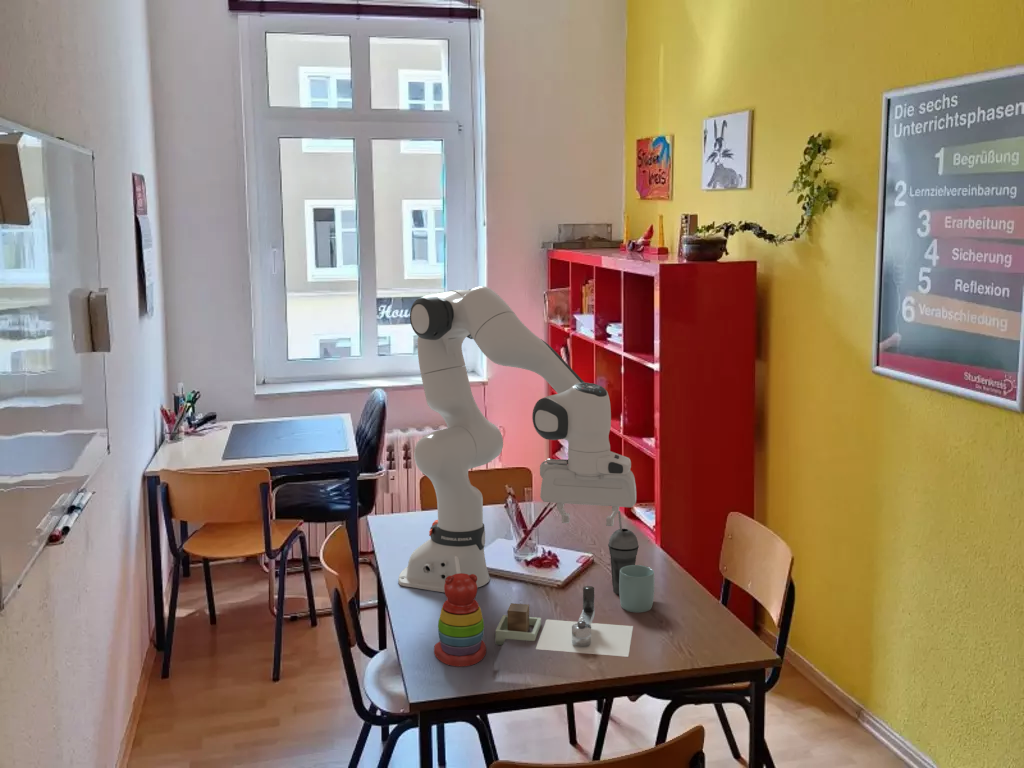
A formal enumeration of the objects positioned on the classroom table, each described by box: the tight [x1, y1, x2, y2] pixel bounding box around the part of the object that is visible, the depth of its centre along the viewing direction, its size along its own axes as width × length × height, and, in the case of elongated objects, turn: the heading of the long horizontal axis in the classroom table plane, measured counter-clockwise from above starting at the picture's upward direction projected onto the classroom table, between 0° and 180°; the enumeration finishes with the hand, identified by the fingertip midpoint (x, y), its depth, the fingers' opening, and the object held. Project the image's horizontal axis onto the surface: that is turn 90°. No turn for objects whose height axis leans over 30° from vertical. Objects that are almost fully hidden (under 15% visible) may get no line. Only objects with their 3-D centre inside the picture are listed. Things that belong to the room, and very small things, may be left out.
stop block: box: [507, 602, 530, 632], centre depth 208 cm, size 4×4×6 cm
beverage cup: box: [607, 510, 640, 595], centre depth 232 cm, size 7×7×20 cm
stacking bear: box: [433, 573, 487, 668], centre depth 198 cm, size 11×10×18 cm
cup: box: [618, 564, 656, 613], centre depth 221 cm, size 8×8×10 cm
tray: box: [494, 614, 542, 646], centre depth 208 cm, size 8×8×3 cm
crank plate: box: [535, 619, 634, 658], centre depth 205 cm, size 19×15×2 cm
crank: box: [572, 585, 596, 647], centre depth 205 cm, size 12×4×8 cm, turn 167°
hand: (587, 523), depth 207 cm, fingers open, 8 cm apart
